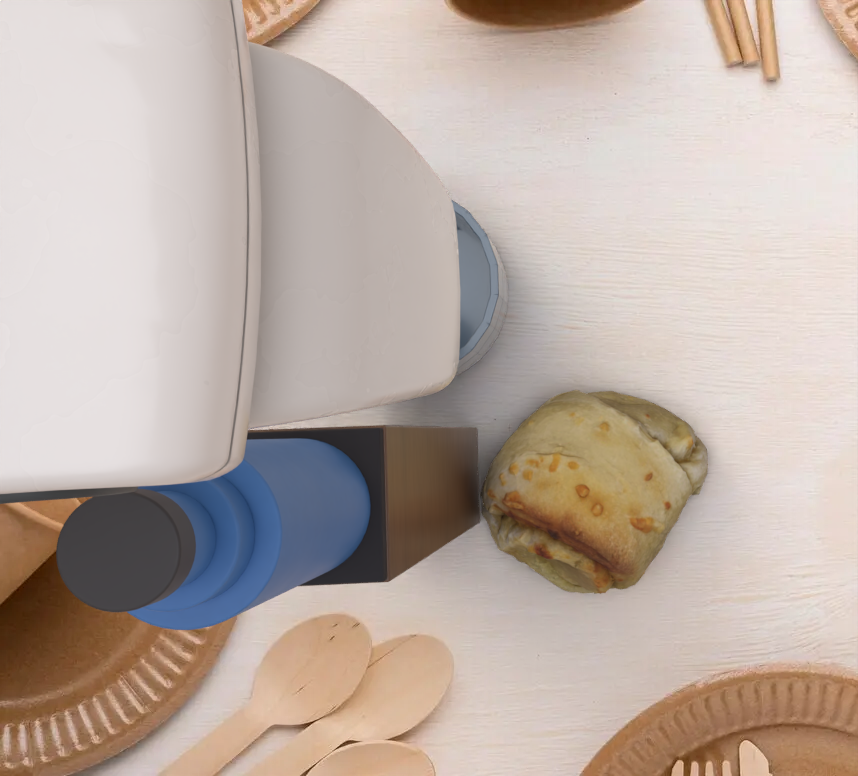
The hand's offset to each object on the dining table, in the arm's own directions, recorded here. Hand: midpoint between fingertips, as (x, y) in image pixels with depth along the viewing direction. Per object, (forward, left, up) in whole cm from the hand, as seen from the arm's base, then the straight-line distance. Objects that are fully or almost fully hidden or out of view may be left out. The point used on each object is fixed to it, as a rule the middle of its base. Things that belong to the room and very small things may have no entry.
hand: (58, 331), depth 25 cm
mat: (+1, -5, -16) cm, 17 cm away
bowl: (+1, +6, -42) cm, 42 cm away
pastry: (+11, -6, -42) cm, 44 cm away
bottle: (+1, -5, -15) cm, 16 cm away
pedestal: (+1, -5, -42) cm, 42 cm away
